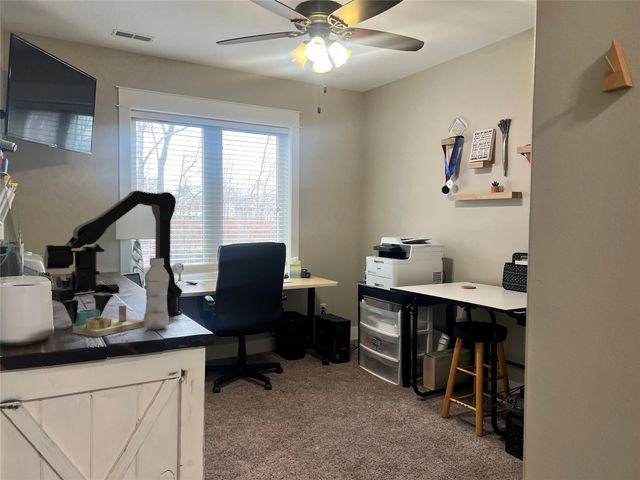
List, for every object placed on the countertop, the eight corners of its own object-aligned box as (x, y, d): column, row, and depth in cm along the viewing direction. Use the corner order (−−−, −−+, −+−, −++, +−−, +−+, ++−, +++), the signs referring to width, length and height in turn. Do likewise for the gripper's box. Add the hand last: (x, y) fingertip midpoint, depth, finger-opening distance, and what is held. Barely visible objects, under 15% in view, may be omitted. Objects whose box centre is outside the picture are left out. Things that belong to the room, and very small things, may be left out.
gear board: (123, 321, 137) (123, 302, 137) (146, 325, 132) (146, 305, 132) (72, 332, 123) (72, 310, 123) (96, 337, 118) (96, 314, 118)
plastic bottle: (143, 327, 130) (143, 257, 129) (168, 325, 132) (168, 257, 132) (144, 332, 124) (144, 259, 123) (170, 330, 126) (170, 259, 126)
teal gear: (89, 320, 138) (89, 307, 138) (105, 323, 134) (105, 310, 134) (66, 325, 131) (66, 311, 131) (82, 328, 128) (82, 314, 128)
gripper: (96, 264, 144) (96, 313, 145) (36, 268, 128) (37, 323, 128) (120, 266, 139) (120, 316, 140) (61, 271, 123) (61, 328, 123)
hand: (86, 321), depth 133 cm, fingers closed on teal gear, 7 cm apart
